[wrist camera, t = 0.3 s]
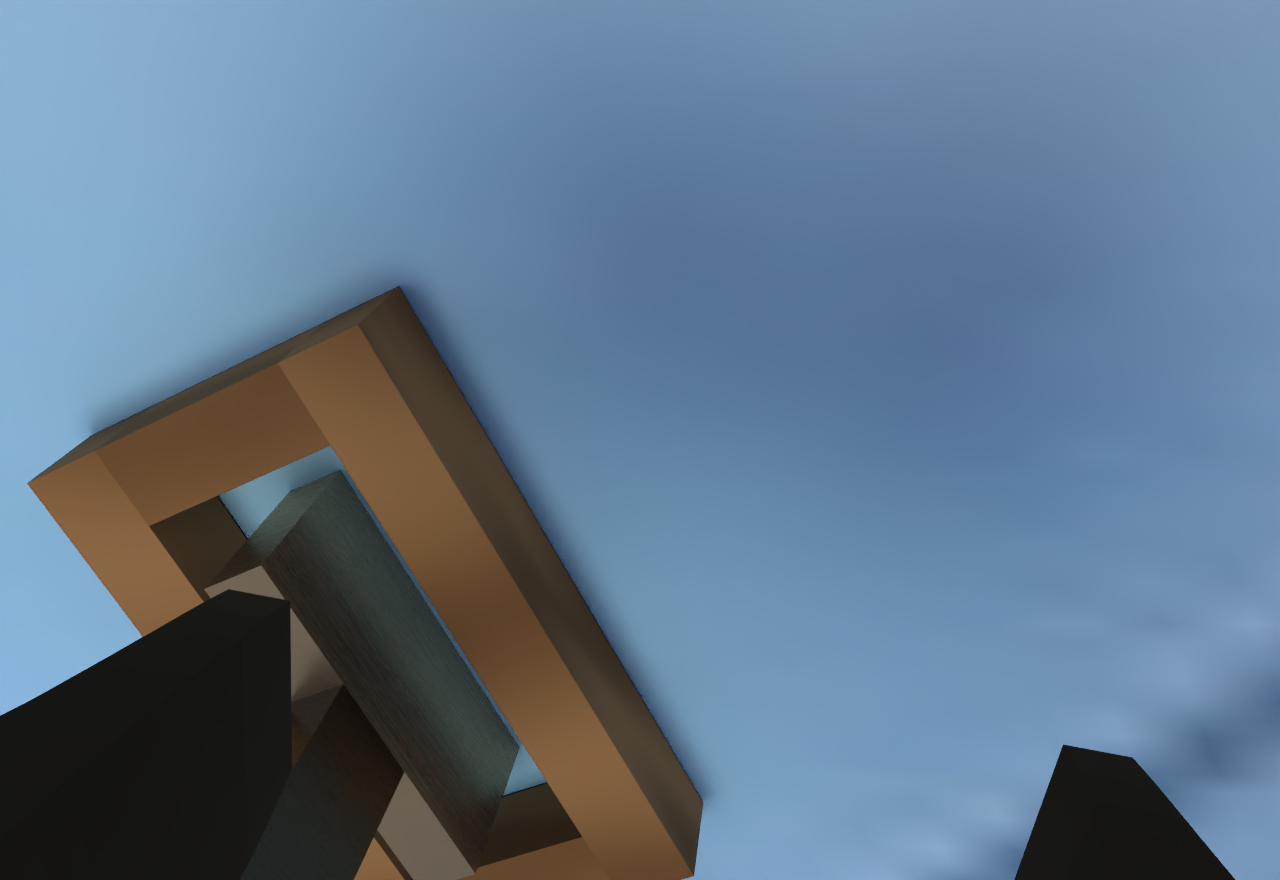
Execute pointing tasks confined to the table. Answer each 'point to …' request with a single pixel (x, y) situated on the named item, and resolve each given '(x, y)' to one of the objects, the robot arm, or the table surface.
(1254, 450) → the table surface
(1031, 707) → the table surface
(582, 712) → the frame
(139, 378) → the table surface
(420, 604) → the turner
